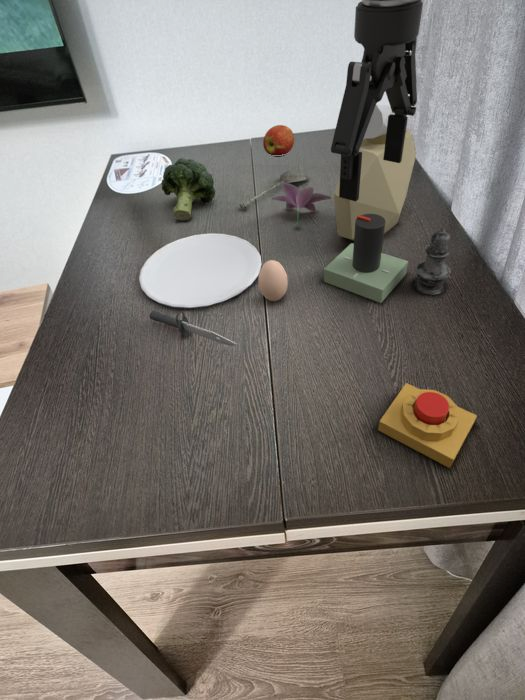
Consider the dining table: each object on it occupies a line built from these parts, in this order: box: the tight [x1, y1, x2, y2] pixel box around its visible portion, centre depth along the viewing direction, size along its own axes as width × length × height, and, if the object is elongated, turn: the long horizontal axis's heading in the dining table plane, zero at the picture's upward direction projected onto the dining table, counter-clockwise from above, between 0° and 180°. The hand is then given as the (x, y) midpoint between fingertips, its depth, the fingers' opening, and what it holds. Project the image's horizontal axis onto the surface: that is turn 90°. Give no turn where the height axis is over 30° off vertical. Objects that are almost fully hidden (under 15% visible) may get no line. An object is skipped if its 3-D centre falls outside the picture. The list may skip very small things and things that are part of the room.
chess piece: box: [413, 226, 452, 296], centre depth 76 cm, size 6×6×12 cm
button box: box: [377, 382, 478, 469], centre depth 58 cm, size 10×8×4 cm
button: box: [414, 392, 449, 425], centre depth 56 cm, size 4×4×2 cm
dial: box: [352, 214, 385, 273], centre depth 78 cm, size 5×5×9 cm
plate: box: [138, 233, 263, 309], centre depth 89 cm, size 25×25×1 cm
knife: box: [148, 310, 239, 346], centre depth 74 cm, size 19×2×5 cm, turn 58°
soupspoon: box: [239, 170, 308, 211], centre depth 109 cm, size 22×3×7 cm
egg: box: [257, 259, 289, 302], centre depth 78 cm, size 5×5×8 cm
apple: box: [262, 124, 295, 158], centre depth 122 cm, size 8×8×8 cm
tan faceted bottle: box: [333, 91, 418, 242], centre depth 84 cm, size 12×24×28 cm, turn 137°
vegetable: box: [161, 157, 216, 222], centre depth 105 cm, size 12×13×15 cm
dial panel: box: [323, 242, 409, 304], centre depth 82 cm, size 12×10×3 cm
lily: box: [271, 181, 332, 229], centre depth 97 cm, size 12×12×10 cm
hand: (371, 178), depth 65 cm, fingers open, 13 cm apart
